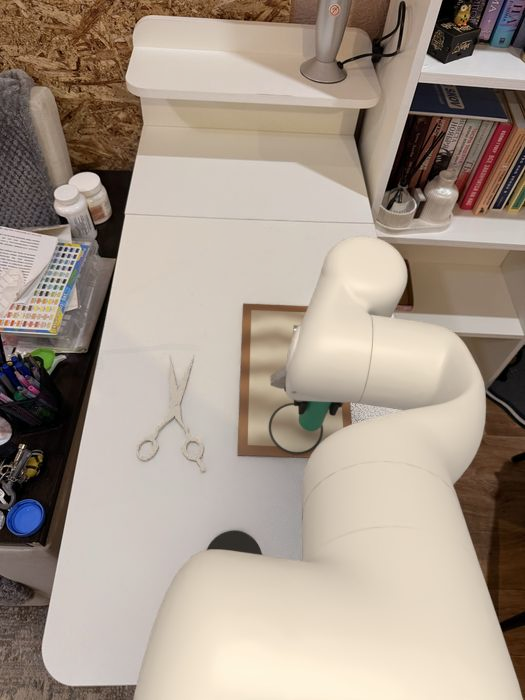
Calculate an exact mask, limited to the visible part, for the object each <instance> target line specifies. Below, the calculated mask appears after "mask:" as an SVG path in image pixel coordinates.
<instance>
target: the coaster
mask: <svg viewBox="0 0 525 700" xmlns="http://www.w3.org/2000/svg"><path fill="white" fill-rule="evenodd" d="M210 549H217V550H230V551H237V552H244V553H251V554H258V555H263V553H262V551H261V548H260V546H259V544H258V542H257V541H256V540H255V539H254V537H253V536H252V535H250V534H248V533H247V532H245V531H241V530H227V531H224V532H222V533H220V534H218V535H216V536H215V537H214V538H213V539H212V540H211V541H210V543H209V544H208V546H207V548H206V550H210Z"/></svg>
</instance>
